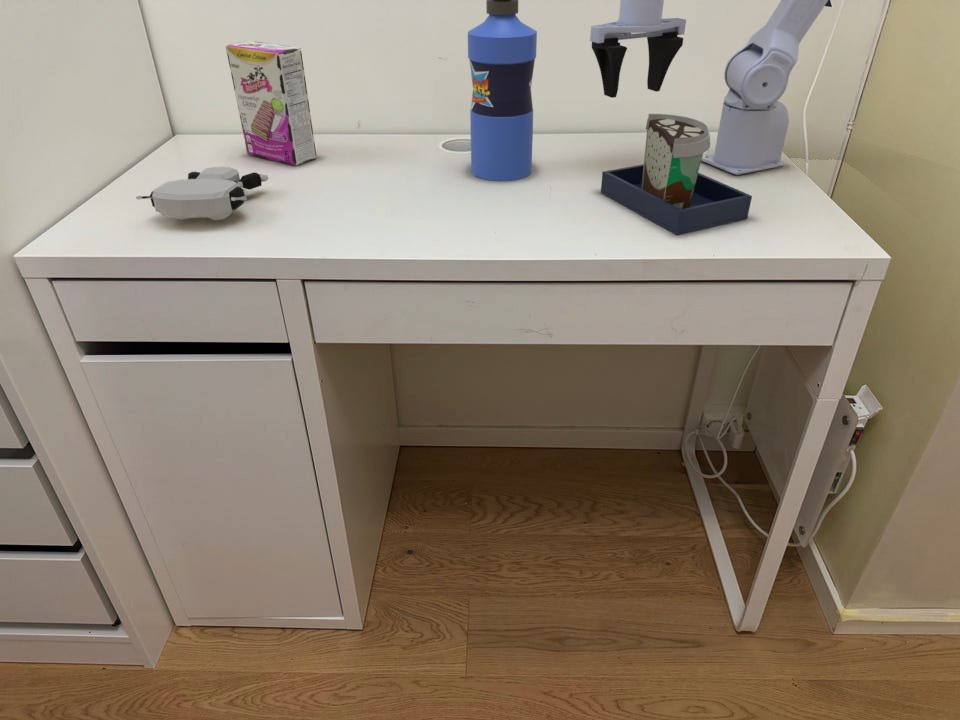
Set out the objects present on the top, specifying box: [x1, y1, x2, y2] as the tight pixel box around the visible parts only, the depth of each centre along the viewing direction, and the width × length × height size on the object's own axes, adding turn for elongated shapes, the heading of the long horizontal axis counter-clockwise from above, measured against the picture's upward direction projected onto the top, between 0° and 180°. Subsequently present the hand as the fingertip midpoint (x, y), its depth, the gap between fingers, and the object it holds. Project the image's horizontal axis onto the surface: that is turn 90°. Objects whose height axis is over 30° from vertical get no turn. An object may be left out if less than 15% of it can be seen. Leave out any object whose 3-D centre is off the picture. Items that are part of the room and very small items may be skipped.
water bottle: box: [467, 0, 538, 182], centre depth 96 cm, size 9×9×25 cm
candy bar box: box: [224, 40, 318, 167], centre depth 105 cm, size 11×5×16 cm, turn 58°
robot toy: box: [135, 166, 269, 221], centre depth 90 cm, size 12×4×15 cm
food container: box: [642, 113, 711, 209], centre depth 87 cm, size 12×6×10 cm, turn 4°
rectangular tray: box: [600, 163, 753, 236], centre depth 90 cm, size 11×16×3 cm
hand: (632, 93), depth 99 cm, fingers open, 7 cm apart
